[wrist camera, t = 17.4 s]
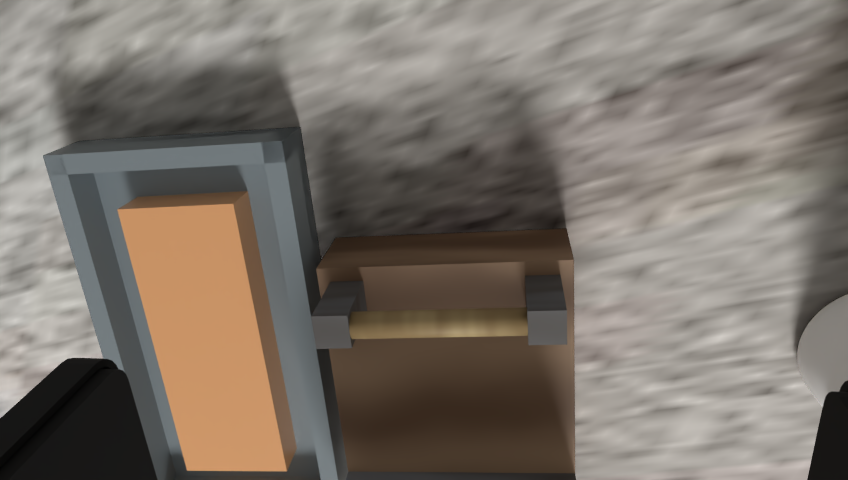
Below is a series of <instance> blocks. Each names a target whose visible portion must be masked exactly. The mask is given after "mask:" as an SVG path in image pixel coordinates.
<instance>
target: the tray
mask: <svg viewBox="0 0 848 480" xmlns="http://www.w3.org/2000/svg"><path fill="white" fill-rule="evenodd" d="M43 158H44V161H45V165H46V168H47V171H48V175H49V178H50V181H51V185H52V188H53V191H54V195H55V198H56V201H57V205H58V208H59V211H60V215H61V218H62V221H63V225H64V228H65V231H66V235H67V238H68V241H69V245H70V248H71V251H72V255H73V258H74V261H75V265H76V268H77V271H78V275H79V278H80V281H81V285H82V288H83V291H84V295H85V298H86V301H87V305H88V308H89V312H90V315H91V318H92V322H93V325H94V328H95V332H96V335H97V338H98V342H99V345H100V348H101V352H102V355H103V358H104V359H109V360H112V361H113V362H114V363H115V364H116V365H117V367H118V369H120V370H123V371H124V372H125V373H126V375H127V377H128V379H129V383H130V386H131V390H132V393H133V397H134V400H135V404H136V407H137V410H138V414H139V417H140V421H141V424H142V428H143V431H144V435H145V438H146V441H147V445H148V448H149V452H150V455H151V459H152V462H153V466H154V469H155V472H156V476H157V479H158V480H346V477H347V474H348V467H347V461H346V455H345V448H344V442H343V435H342V429H341V423H340V416H339V410H338V404H337V397H336V391H335V385H334V378H333V372H332V366H331V359H330V353H329V349H316V344H315V338H314V332H313V326H312V320H311V316H312V314H313V312H314V310H315V308H316V307H317V305H318V303H319V301H320V299H321V296H320V290H319V283H318V277H317V271H316V268H317V267H318V265H319V263H320V262H321V258H320V252H319V245H318V239H317V232H316V226H315V219H314V213H313V206H312V200H311V193H310V187H309V180H308V174H307V167H306V161H305V154H304V148H303V141H302V135H301V129H300V127H292V128H276V129H260V130H245V131H229V132H213V133H197V134H182V135H166V136H150V137H135V138H119V139H103V140H87V141H78V142H75V143H73V144H71V145H68V146H66V147H63V148H61V149H58V150H56V151H53V152H51V153H48V154H46V155H43ZM240 191H248V194H249V199H250V205H251V210H252V215H253V220H254V226H255V231H256V236H257V241H258V247H259V252H260V257H261V262H262V268H263V273H264V278H265V283H266V289H267V294H268V299H269V304H270V310H271V315H272V320H273V325H274V331H275V336H276V341H277V346H278V351H279V357H280V362H281V367H282V372H283V378H284V383H285V388H286V393H287V399H288V404H289V409H290V414H291V420H292V425H293V430H294V435H295V441H296V446H297V449H296V452H295V454H294V456H293V459H292V461H291V463H290V465H289V468H288V470H287V471H187V469H186V465H185V461H184V457H183V454H182V450H181V446H180V443H179V439H178V435H177V431H176V428H175V424H174V420H173V416H172V413H171V409H170V405H169V401H168V398H167V394H166V390H165V386H164V383H163V379H162V375H161V371H160V368H159V364H158V360H157V356H156V353H155V349H154V345H153V342H152V338H151V334H150V330H149V327H148V323H147V319H146V315H145V312H144V308H143V304H142V300H141V297H140V293H139V289H138V285H137V282H136V278H135V274H134V270H133V267H132V263H131V259H130V255H129V252H128V248H127V244H126V241H125V237H124V233H123V229H122V226H121V222H120V218H119V214H118V211H117V209H119V208H120V207H122V206H124V205H125V204H127V203H129V202H130V201H132V200H133V199H135V198H137V197H144V196H163V195H183V194H202V193H221V192H240Z"/></svg>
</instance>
